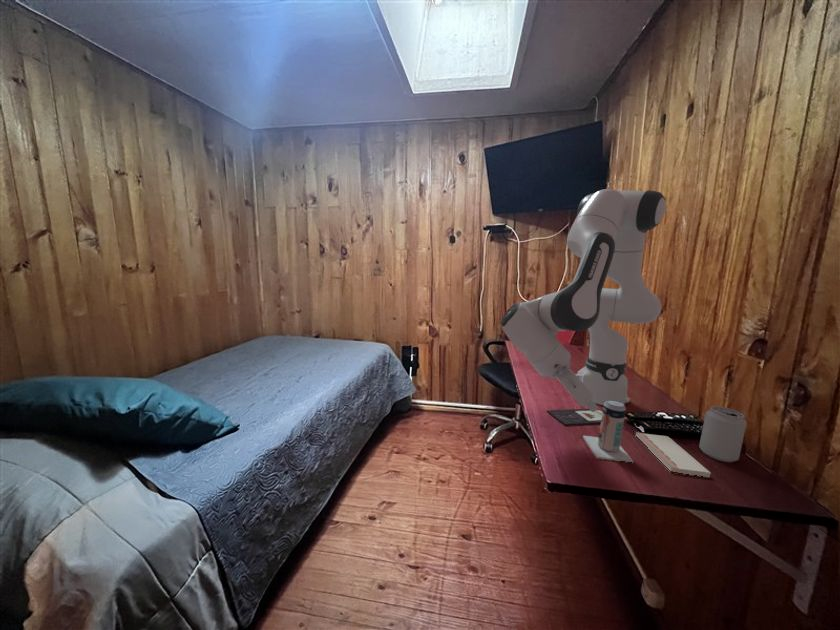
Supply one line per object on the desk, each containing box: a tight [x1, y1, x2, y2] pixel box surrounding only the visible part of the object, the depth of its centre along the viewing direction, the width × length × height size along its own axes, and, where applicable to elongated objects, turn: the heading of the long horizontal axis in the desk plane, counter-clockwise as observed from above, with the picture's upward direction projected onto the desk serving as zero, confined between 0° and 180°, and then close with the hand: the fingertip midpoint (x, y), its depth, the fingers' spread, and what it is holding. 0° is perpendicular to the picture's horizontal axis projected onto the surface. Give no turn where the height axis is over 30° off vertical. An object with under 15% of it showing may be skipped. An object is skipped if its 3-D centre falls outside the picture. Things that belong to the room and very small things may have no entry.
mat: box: [582, 435, 634, 464], centre depth 83 cm, size 10×8×1 cm
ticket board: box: [635, 431, 711, 478], centre depth 81 cm, size 16×8×1 cm, turn 171°
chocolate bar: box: [546, 408, 603, 427], centre depth 100 cm, size 9×1×18 cm
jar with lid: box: [598, 400, 627, 452], centre depth 81 cm, size 5×5×12 cm
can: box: [698, 405, 747, 463], centre depth 82 cm, size 8×8×12 cm
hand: (587, 401), depth 81 cm, fingers open, 8 cm apart
